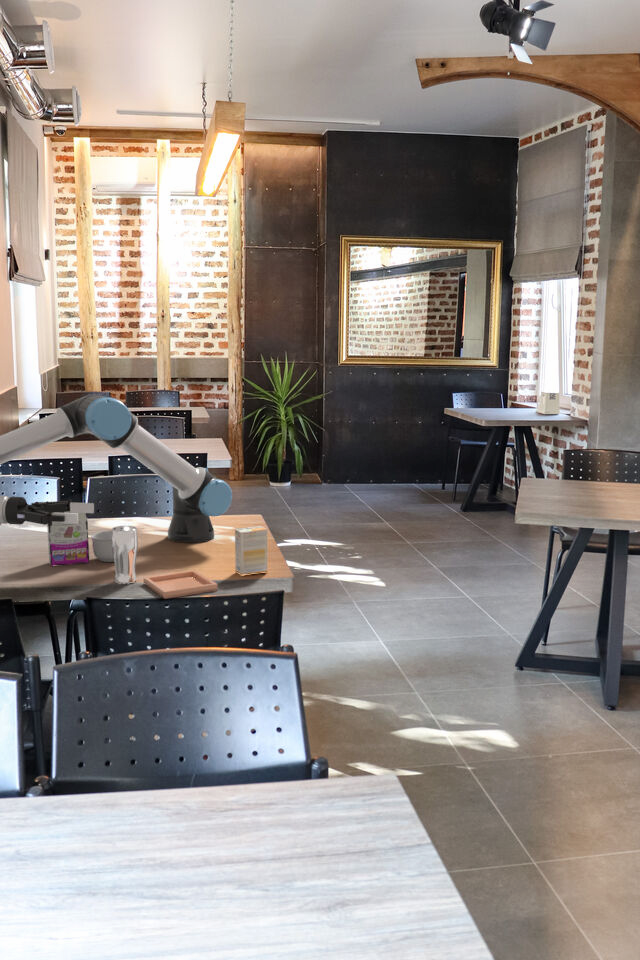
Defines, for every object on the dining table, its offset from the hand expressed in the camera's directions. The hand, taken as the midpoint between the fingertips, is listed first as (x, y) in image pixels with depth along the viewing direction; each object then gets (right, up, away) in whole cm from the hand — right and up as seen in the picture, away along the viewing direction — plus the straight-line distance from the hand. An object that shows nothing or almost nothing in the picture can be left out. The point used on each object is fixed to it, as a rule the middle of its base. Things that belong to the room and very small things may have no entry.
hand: (86, 513), depth 244 cm
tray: (+26, -20, -1) cm, 32 cm away
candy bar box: (-10, -16, +21) cm, 28 cm away
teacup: (+1, -15, +27) cm, 31 cm away
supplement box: (+44, -18, +13) cm, 49 cm away
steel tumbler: (+10, -19, +3) cm, 22 cm away
